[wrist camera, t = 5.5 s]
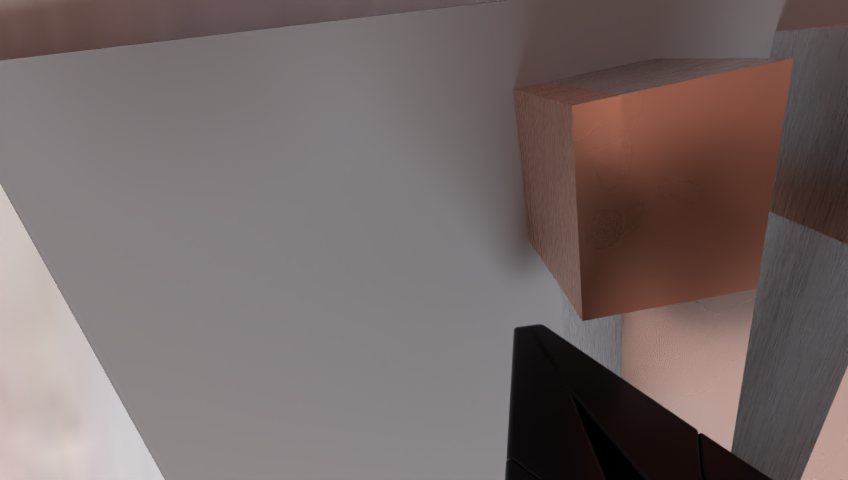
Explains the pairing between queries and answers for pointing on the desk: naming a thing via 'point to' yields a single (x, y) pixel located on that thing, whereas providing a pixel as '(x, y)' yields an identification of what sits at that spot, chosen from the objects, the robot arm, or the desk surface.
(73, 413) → the desk surface
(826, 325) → the fixed tong arm
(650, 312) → the tong arm
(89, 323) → the mat
